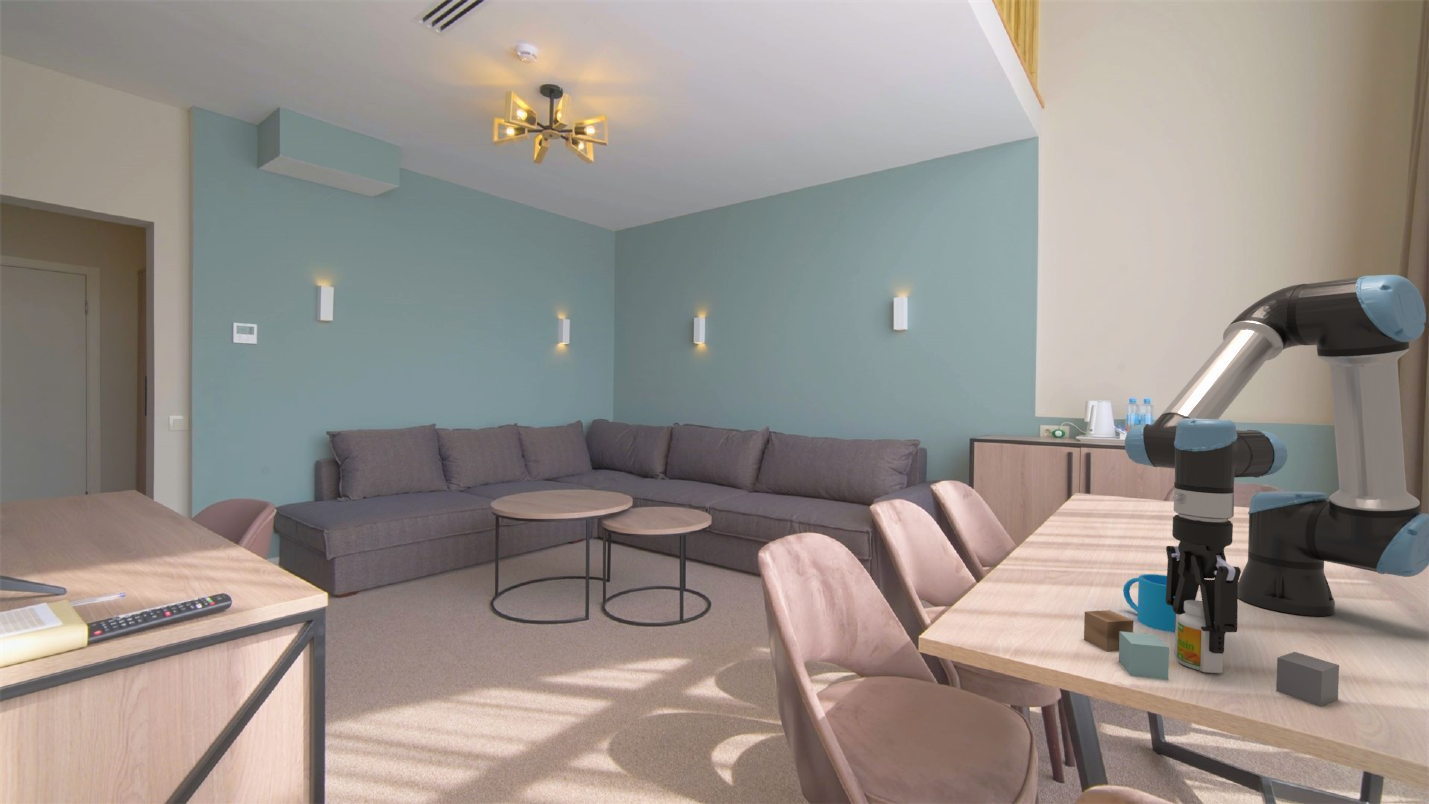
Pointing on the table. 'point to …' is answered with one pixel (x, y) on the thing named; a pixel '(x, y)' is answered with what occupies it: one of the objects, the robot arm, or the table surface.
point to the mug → (1152, 602)
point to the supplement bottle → (1190, 634)
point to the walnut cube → (1105, 628)
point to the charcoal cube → (1307, 678)
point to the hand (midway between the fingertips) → (1197, 662)
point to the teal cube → (1143, 655)
